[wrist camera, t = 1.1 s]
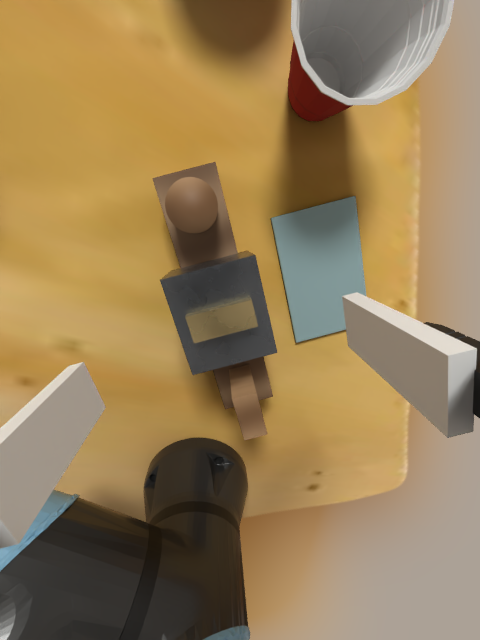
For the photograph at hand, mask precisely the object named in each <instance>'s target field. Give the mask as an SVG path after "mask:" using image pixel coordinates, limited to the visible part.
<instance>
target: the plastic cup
mask: <svg viewBox="0 0 480 640" xmlns="http://www.w3.org/2000/svg"><path fill="white" fill-rule="evenodd" d="M453 4H454V0H292V9H291V31H292V35H293V38H294V42H293V49H292V55H291V62H290V73H289V79H288V97H289V100H290V103H291V106H292V108H293V110H294V111H295V112H296V113H297V114H298V116H299V117H301V118H303V119H305V120H307V121H322V120H324V119H326V118H328V117H330V116H333V115H335V114H337V113H339V112H341V111H343V110H345V109H347V108H349V107H351V106H353V105H377V104H379V103H381V102H383V101H385V100H387V99H389V98H391V97H393V96H395V95H397V94H399V93H401V92H403V91H405V90H407V88H408V87H409V86H410V85H411V84H412V83H413V82H414V81H415V80H416V79H417V78H418V77H419V76H420V75H421V73H422V72H423V71H424V70H425V69H426V68H427V67H428V66H429V65H430V63H432V61H433V58H434V56H435V54H436V52H437V50H438V48H439V46H440V44H441V42H442V40H443V38H444V36H445V34H446V32H447V30H448V28H449V26H450V21H451V16H452V10H453Z"/></svg>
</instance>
